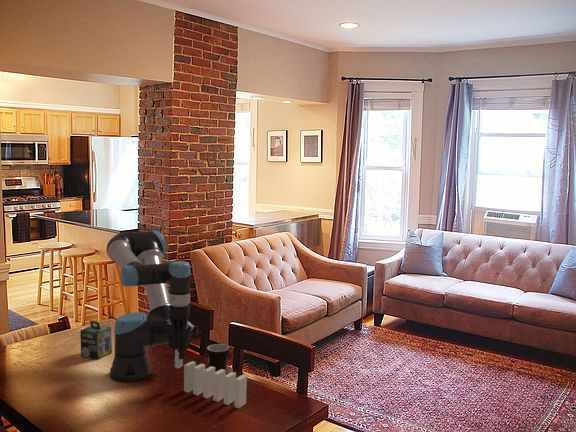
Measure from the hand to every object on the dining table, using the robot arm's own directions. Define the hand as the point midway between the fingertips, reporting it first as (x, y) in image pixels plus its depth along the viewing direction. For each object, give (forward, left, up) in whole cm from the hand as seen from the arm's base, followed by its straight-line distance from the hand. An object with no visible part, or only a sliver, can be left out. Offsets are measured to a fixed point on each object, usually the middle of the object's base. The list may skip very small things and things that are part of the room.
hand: (178, 366), depth 195 cm
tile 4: (+18, 0, -8) cm, 20 cm away
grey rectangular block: (+27, 0, -8) cm, 28 cm away
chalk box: (-50, +5, -8) cm, 50 cm away
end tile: (+5, 0, -8) cm, 9 cm away
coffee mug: (+3, +20, -8) cm, 22 cm away
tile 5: (+23, 0, -8) cm, 24 cm away
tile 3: (+14, 0, -8) cm, 16 cm away
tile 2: (+9, 0, -8) cm, 12 cm away
